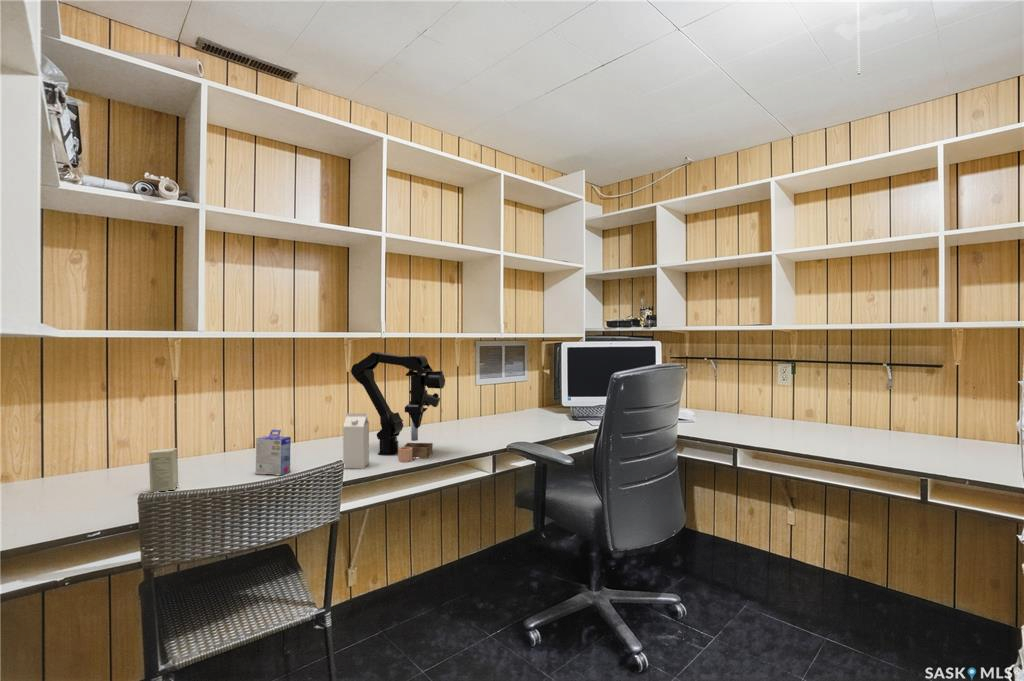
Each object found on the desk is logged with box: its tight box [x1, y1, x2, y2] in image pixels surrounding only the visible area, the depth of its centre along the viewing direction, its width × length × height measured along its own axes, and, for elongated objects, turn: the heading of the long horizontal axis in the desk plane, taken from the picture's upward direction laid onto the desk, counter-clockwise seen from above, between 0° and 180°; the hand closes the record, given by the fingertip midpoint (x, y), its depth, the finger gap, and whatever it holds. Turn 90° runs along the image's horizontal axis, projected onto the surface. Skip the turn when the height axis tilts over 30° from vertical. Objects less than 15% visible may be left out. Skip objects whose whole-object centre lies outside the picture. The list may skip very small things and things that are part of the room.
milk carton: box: [342, 412, 370, 469], centre depth 179 cm, size 7×7×19 cm
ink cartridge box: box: [255, 429, 291, 476], centre depth 170 cm, size 10×6×14 cm, turn 80°
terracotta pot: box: [397, 446, 414, 463], centre depth 187 cm, size 5×5×5 cm
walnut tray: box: [403, 442, 433, 459], centre depth 195 cm, size 10×8×4 cm
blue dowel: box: [410, 419, 419, 442], centre depth 195 cm, size 4×2×8 cm
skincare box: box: [148, 447, 179, 493], centre depth 151 cm, size 6×4×12 cm
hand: (417, 427), depth 195 cm, fingers closed on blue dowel, 2 cm apart
